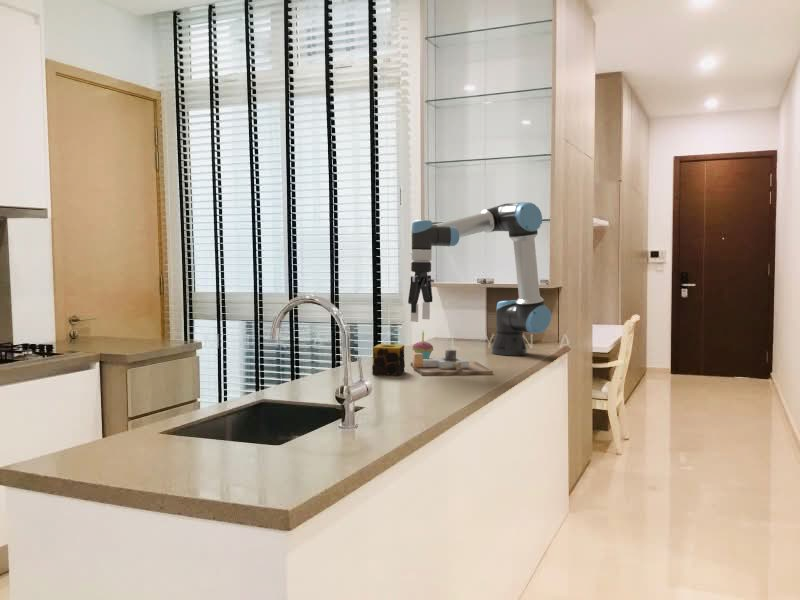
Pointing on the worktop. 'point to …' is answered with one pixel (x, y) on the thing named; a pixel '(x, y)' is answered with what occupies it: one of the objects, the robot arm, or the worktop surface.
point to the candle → (388, 359)
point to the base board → (451, 356)
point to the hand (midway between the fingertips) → (420, 320)
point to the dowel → (458, 366)
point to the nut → (437, 362)
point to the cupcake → (423, 348)
